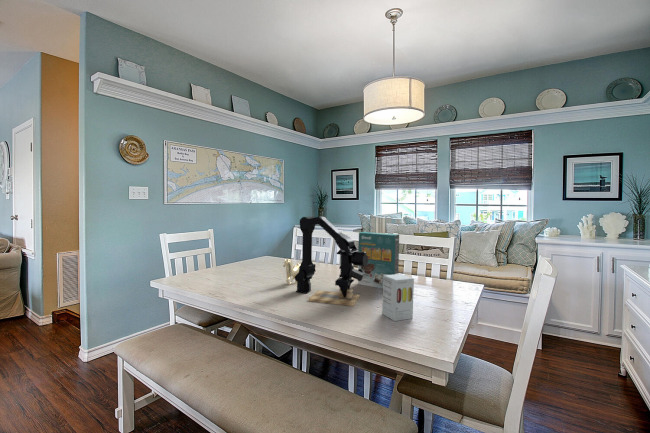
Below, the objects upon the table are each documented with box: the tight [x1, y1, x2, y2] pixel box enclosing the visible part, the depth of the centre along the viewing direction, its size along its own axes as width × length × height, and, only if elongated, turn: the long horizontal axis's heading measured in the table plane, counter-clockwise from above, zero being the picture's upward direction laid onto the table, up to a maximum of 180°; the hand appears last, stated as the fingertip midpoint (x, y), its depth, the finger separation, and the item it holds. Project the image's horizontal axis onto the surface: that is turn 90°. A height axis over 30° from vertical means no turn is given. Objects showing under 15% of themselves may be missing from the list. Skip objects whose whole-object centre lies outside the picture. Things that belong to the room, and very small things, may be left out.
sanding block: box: [338, 288, 354, 300], centre depth 149 cm, size 6×4×4 cm, turn 73°
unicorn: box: [282, 258, 301, 286], centre depth 177 cm, size 20×4×17 cm, turn 156°
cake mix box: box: [357, 231, 400, 289], centre depth 175 cm, size 22×6×30 cm, turn 58°
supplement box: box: [381, 273, 415, 322], centre depth 129 cm, size 10×9×17 cm
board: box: [307, 290, 360, 307], centre depth 151 cm, size 22×14×1 cm, turn 73°
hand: (345, 295), depth 149 cm, fingers closed on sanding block, 4 cm apart
